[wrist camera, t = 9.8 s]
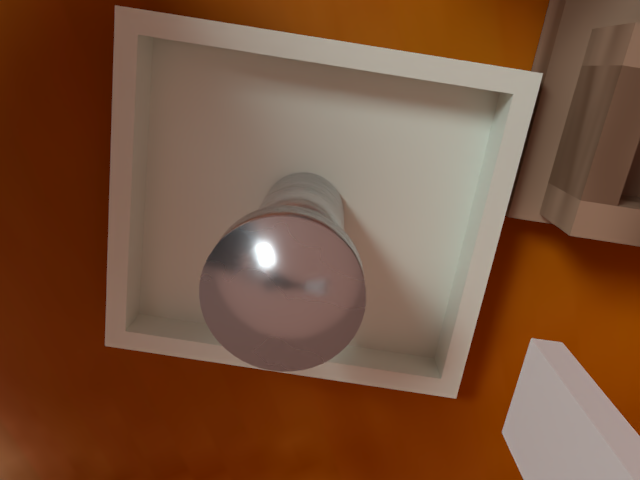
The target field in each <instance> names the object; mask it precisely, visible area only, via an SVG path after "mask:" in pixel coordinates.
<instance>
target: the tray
mask: <svg viewBox="0 0 640 480" xmlns="http://www.w3.org/2000/svg"><path fill="white" fill-rule="evenodd" d="M542 76H543V73H538V72H531V71H525V70H519V69H513V68H506V67H500V66H494V65H487V64H481V63H475V62H469V61H462V60H456V59H450V58H444V57H437V56H431V55H425V54H418V53H412V52H406V51H400V50H393V49H387V48H381V47H375V46H368V45H362V44H356V43H349V42H343V41H337V40H331V39H324V38H318V37H312V36H306V35H299V34H293V33H287V32H280V31H274V30H268V29H262V28H255V27H249V26H243V25H237V24H230V23H224V22H218V21H211V20H205V19H199V18H193V17H186V16H180V15H174V14H168V13H161V12H155V11H149V10H143V9H136V8H130V7H124V6H117V5H115V18H114V52H113V85H112V119H111V153H110V186H109V220H108V253H107V287H106V321H105V346H108V347H115V348H122V349H128V350H135V351H142V352H148V353H155V354H162V355H168V356H175V357H182V358H188V359H195V360H202V361H208V362H215V363H222V364H228V365H235V366H242V367H248V368H255V369H262V368H258V367H255V366H252V365H250V364H248V363H246V362H244V361H242V360H240V359H239V358H237V357H235V356H234V355H232V354H231V353H230V352H229V351H227V350H226V349H225V348H224V347H223V346H222V345H221V344H220V343H219V342H218V341H217V339H216V338H215V337H214V336H213V334H212V333H211V331H210V329H209V328H208V326H207V324H206V322H205V319H204V317H203V314H202V310H201V306H200V299H199V284H200V278H201V274H202V270H203V267H204V265H205V263H206V260H207V258H208V256H209V255H210V253H211V252H212V250H213V249H214V247H215V246H216V245H217V243H218V242H219V240H220V239H221V237H222V236H223V234H224V233H225V232H226V231H227V230H228V229H229V228H230V226H232V225H233V224H234V223H235V222H236V221H238V220H239V219H240V218H242V217H244V216H245V215H247V214H249V213H251V212H253V211H256V210H258V209H259V207H260V205H261V204H262V202H263V200H264V198H265V197H266V195H267V193H268V191H269V190H270V188H271V187H272V186H273V185H274V184H275V183H276V182H277V181H278V180H279V179H281V178H283V177H284V176H287V175H289V174H292V173H297V172H309V173H314V174H317V175H320V176H321V177H323V178H325V179H327V180H328V181H329V182H330V183H331V184H333V186H334V187H335V188H336V189H337V191H338V192H339V194H340V196H341V199H342V202H343V207H344V231H345V232H346V233H347V235H348V236H349V237H350V238H351V240H352V241H353V243H354V244H355V246H356V248H357V251H358V253H359V255H360V258H361V261H362V266H363V271H364V279H365V288H366V306H365V312H364V316H363V320H362V322H361V325H360V327H359V329H358V331H357V333H356V334H355V336H354V338H353V339H352V340H351V342H350V343H349V344H348V345H347V346H346V347H345V348H344V349H343V350H342V351H341V352H340V353H339V354H337V355H336V356H335V357H333V358H332V359H330V360H328V361H327V362H325V363H323V364H320V365H318V366H315V367H313V368H309V369H305V370H300V371H291V372H282V373H288V374H295V375H301V376H308V377H315V378H321V379H328V380H335V381H341V382H348V383H355V384H361V385H368V386H375V387H381V388H388V389H395V390H401V391H408V392H415V393H421V394H428V395H435V396H441V397H448V398H455V399H456V398H457V394H458V390H459V386H460V383H461V379H462V375H463V371H464V368H465V364H466V360H467V356H468V353H469V349H470V345H471V341H472V338H473V334H474V330H475V327H476V323H477V319H478V315H479V312H480V308H481V304H482V300H483V297H484V293H485V289H486V285H487V282H488V278H489V274H490V270H491V267H492V263H493V259H494V255H495V252H496V248H497V244H498V240H499V237H500V233H501V229H502V226H503V222H504V218H505V214H506V211H507V207H508V203H509V199H510V196H511V192H512V188H513V184H514V181H515V177H516V173H517V169H518V166H519V162H520V158H521V154H522V151H523V147H524V143H525V139H526V136H527V132H528V128H529V125H530V121H531V117H532V113H533V110H534V106H535V102H536V98H537V95H538V91H539V87H540V83H541V80H542ZM262 370H266V369H262ZM268 371H271V370H268ZM275 372H280V371H275Z"/></svg>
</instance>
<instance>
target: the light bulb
mask: <svg viewBox="0 0 640 480" xmlns="http://www.w3.org/2000/svg"><path fill="white" fill-rule="evenodd" d="M199 299H200V306H201V310H202V314H203V317H204V319H205V322H206V324H207V326H208V328H209V329H210V331H211V333H212V334H213V336H214V337H215V338H216V339H217V341H218V342H219V343H220V344H221V345H222V346H223V347H224V348H225V349H226V350H227V351H229V352H230V353H231V354H232V355H234V356H235V357H237V358H239V359H240V360H242V361H244V362H246V363H248V364H250V365H252V366H255V367H258V368H262V369H266V370H271V371H280V372H291V371H300V370H305V369H309V368H313V367H315V366H318V365H320V364H323V363H325V362H327V361H328V360H330V359H332V358H333V357H335V356H336V355H337V354H339V353H340V352H341V351H342V350H343V349H344V348H345V347H346V346H347V345H348V344H349V343H350V342H351V340H352V339H353V338H354V336H355V334H356V333H357V331H358V329H359V327H360V325H361V322H362V320H363V316H364V312H365V306H366V288H365V279H364V271H363V266H362V261H361V258H360V255H359V253H358V251H357V248H356V246H355V244H354V243H353V241H352V240H351V238H350V237H349V236H348V235H347V233H346V232H345V231H344V207H343V202H342V199H341V196H340V194H339V192H338V191H337V189H336V188H335V187H334V186H333V184H331V183H330V182H329V181H328V180H327V179H325V178H323V177H321V176H320V175H317V174H314V173H309V172H297V173H292V174H289V175H287V176H284V177H283V178H281V179H279V180H278V181H277V182H276V183H275V184H274V185H273V186H272V187H271V188H270V190H269V191H268V193H267V195H266V197H265V198H264V200H263V202H262V204H261V205H260V207H259V209H258V210H256V211H253V212H251V213H249V214H247V215H245V216H244V217H242V218H240V219H239V220H238V221H236V222H235V223H234V224H233V225H232V226H230V228H229V229H228V230H227V231H226V232H225V233H224V234H223V236H222V237H221V239H220V240H219V242H218V243H217V245H216V246H215V247H214V249H213V250H212V252H211V253H210V255H209V256H208V258H207V260H206V263H205V265H204V267H203V270H202V274H201V278H200V284H199Z"/></svg>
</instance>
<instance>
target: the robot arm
mask: <svg viewBox="0 0 640 480" xmlns="http://www.w3.org/2000/svg"><path fill="white" fill-rule="evenodd" d="M502 434H503V436H504V439H505V441H506V443H507V445H508V447H509V449H510V452H511V454H512V456H513V458H514V460H515V462H516V464H517V467H518V469H519V471H520V473H521V475H522V477H523V480H640V436H639V435H638V434H637V433H636V431H635V430H634V429H633V428H632V427H631V425H630V424H629V423H628V422H627V420H626V419H625V418H624V417H623V416H622V414H621V413H620V412H619V411H618V410H617V408H616V407H615V406H614V405H613V403H612V402H611V401H610V400H609V399H608V397H607V396H606V395H605V394H604V392H603V391H602V390H601V389H600V388H599V386H598V385H597V384H596V383H595V382H594V380H593V379H592V378H591V377H590V375H589V374H588V373H587V372H586V371H585V369H584V368H583V367H582V366H581V365H580V363H579V362H578V361H577V360H576V358H575V357H574V356H573V355H572V354H571V352H570V351H569V350H568V349H567V348H566V346H565V345H564V344H563V343H562V342H555V341H549V340H542V339H535V338H531V340H530V344H529V347H528V350H527V353H526V356H525V360H524V363H523V366H522V369H521V372H520V376H519V379H518V382H517V385H516V388H515V392H514V395H513V398H512V401H511V404H510V408H509V411H508V414H507V417H506V420H505V424H504V427H503V430H502Z"/></svg>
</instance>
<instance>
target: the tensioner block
mask: <svg viewBox="0 0 640 480" xmlns="http://www.w3.org/2000/svg"><path fill="white" fill-rule="evenodd" d="M531 72H538V73H543V76H542V80H541V83H540V87H539V91H538V95H537V98H536V102H535V106H534V110H533V113H532V117H531V121H530V125H529V128H528V132H527V136H526V139H525V143H524V147H523V151H522V154H521V158H520V162H519V166H518V169H517V173H516V177H515V181H514V184H513V188H512V192H511V196H510V199H509V203H508V207H507V211H506V214H505V215H506V216H507V217H510V218H516V219H523V220H529V221H536V222H542V223H548V224H554V225H556V226H557V227H558V228H560V229H561V230H562V231H564V232H565V233H567V234H568V235H569V236H574V237H581V238H587V239H594V240H600V241H607V242H613V243H619V244H626V245H632V246H639V247H640V0H550V1H549V5H548V9H547V13H546V17H545V21H544V25H543V28H542V32H541V36H540V40H539V44H538V48H537V51H536V55H535V59H534V63H533V67H532V71H531Z"/></svg>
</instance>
